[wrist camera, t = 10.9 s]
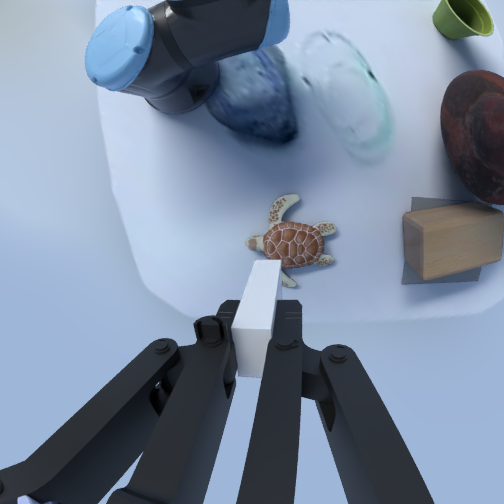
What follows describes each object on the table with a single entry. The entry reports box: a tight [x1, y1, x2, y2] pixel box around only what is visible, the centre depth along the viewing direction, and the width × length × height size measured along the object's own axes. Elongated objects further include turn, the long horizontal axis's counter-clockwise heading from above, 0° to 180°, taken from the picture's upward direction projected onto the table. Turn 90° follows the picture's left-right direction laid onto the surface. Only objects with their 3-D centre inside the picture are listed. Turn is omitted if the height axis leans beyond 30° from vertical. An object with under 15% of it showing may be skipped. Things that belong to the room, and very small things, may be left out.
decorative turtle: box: [245, 194, 337, 287], centre depth 49 cm, size 18×17×5 cm
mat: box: [401, 197, 492, 284], centre depth 45 cm, size 18×22×1 cm
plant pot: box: [433, 0, 494, 39], centre depth 23 cm, size 12×12×11 cm
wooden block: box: [403, 201, 504, 280], centre depth 40 cm, size 10×10×20 cm
